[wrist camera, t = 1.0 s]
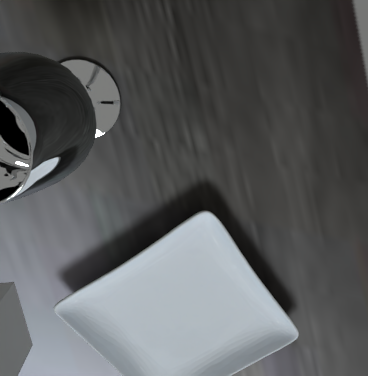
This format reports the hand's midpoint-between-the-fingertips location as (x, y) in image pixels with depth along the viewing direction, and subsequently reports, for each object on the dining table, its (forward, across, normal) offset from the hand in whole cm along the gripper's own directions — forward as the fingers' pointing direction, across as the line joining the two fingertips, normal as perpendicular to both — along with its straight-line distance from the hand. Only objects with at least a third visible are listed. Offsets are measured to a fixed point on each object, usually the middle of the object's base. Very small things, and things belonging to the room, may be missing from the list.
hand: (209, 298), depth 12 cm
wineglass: (+24, -10, +5) cm, 27 cm away
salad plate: (+24, -2, -21) cm, 32 cm away
